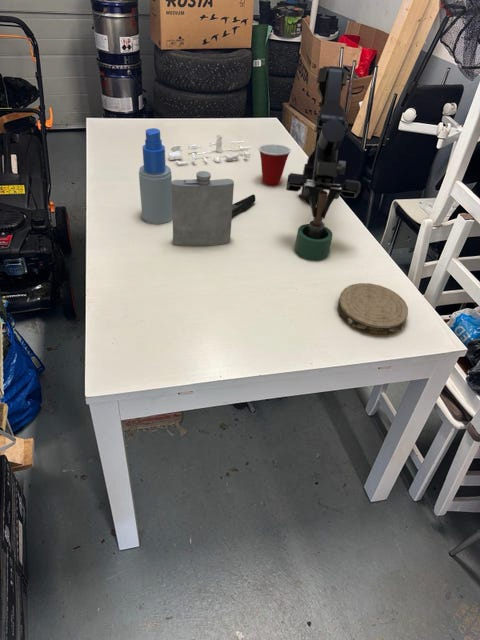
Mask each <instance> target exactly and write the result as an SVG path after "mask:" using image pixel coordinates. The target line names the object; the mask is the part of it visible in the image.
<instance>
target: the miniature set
mask: <svg viewBox="0 0 480 640" xmlns="http://www.w3.org/2000/svg"><path fill="white" fill-rule="evenodd" d="M247 142H249V140H235V141H230V142H229V144H230V145H233V144H238V145H239V150H242V151H243V150H249V149H252V146H251V145H250V146H242V145H241V143H247ZM222 145H223V137H222V136H221V135H220V134H218V135H216V142H213V143H212V142H210V143H209V144H208V146H209V147H212V146H216V149H215V150H216V151H217V153H224V152H231V151H236V148H227V149H224V150H222V149H223V148H222V147H223V146H222ZM181 147H183V144H175V145H172V146H170V148H169V150H170V151H169V152H168V159H169V161H173V160H175V163H176V164H177V165H178V166H181V165H188V164H189V162H188V161H179V160H182V153H181V152H183V149H181ZM187 149H188V150H193V151H194V150H195V151H197V149H202V146H201V145H199V146H198V145H197V143H193V144H187ZM211 153H212V152H211V150H207V151H202V152H196V153H194V152H191V154H188V155H187V156H191V158H192V159H193V161H196V160H198V157H197V156H196V155H202V158H203V160H204V162H205V163H206V164H208V159H207V158H206V156H203V155H206V154H211ZM243 153H244V154H243V155H244V159H250V155H251V153H250V152H248V151H243ZM238 159H239V153H235V154H226V155H225V159H224V160H225V161H227V162H229V161H234V160H238ZM213 160H214V161H215V162H216V163H220V158H219V156H216V157H213Z"/></svg>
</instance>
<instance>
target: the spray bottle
mask: <svg viewBox="0 0 480 640" xmlns="http://www.w3.org/2000/svg"><path fill="white" fill-rule="evenodd" d="M141 149H142V158H143V159H142V160H143V161H142V163H143V165H141V166H140V167H139V169H138V180H139V194H140V206H141V207H140V208H141V218H142V220H143V221H144V222H146V223H148V224H152V225H163V224H167V223H169V222H170V221H172V220H173V219H172V185H171V182H172V181H173V179H172V171H171V168H170V166H168V165H166V164H167V163H166V146H165V145H164V144H163V141H162V139H161V129H158V128H153V127H152V128H147V129H145V139H144V144H143V145H142V148H141Z"/></svg>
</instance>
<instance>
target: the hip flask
mask: <svg viewBox="0 0 480 640" xmlns="http://www.w3.org/2000/svg"><path fill="white" fill-rule="evenodd" d="M195 176H196V178H193V179H191V178H190V179H172V182H171V185H172V219H171V220H172V243H173V244H174V245H175V246H179V247H180V246H181V247H203V246H206V247H207V246H217V245H224V244H229V243H230V242H231V235H232V234H231V233H232V232H231V231H232V219H233V216H232V205H233V204H234V189H235V187H234V186H235V180H233V179H232V178H221V179H220V178H219V179H211V178H212V175H211V173H210V172H209V171H207V170H206V171H205V170H200V171H197V172H196V175H195Z"/></svg>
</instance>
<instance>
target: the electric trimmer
mask: <svg viewBox="0 0 480 640" xmlns="http://www.w3.org/2000/svg"><path fill="white" fill-rule="evenodd" d="M254 203H256V195H255V194H250V195H249V196H247V197H245V198H243V199H241V200H239V201H237V202H233V205H232V217H233V216H234V215H236V214H238V213H239V212H241V211H246V210H247V209H249V208H250V207H251V206H252V205H253V204H254Z"/></svg>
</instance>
